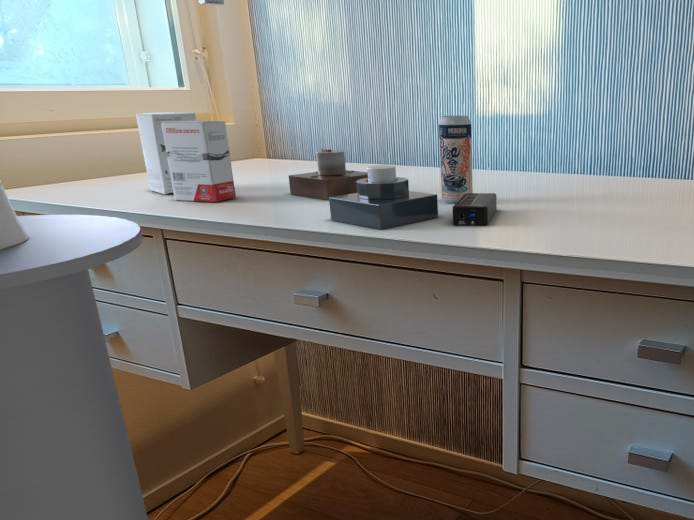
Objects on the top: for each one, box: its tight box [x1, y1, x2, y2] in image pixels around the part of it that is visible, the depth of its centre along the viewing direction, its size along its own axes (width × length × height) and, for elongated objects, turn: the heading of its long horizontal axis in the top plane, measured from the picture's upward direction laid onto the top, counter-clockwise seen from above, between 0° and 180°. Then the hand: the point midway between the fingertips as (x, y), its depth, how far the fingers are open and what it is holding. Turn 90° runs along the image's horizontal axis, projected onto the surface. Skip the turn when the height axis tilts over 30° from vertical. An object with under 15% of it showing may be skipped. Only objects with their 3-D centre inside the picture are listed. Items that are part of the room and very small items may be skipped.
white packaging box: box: [135, 111, 197, 195], centre depth 116 cm, size 7×7×13 cm
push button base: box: [328, 176, 439, 230], centre depth 89 cm, size 10×10×5 cm
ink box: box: [161, 120, 237, 203], centre depth 106 cm, size 8×5×12 cm, turn 68°
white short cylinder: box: [366, 164, 397, 182], centre depth 88 cm, size 4×4×2 cm
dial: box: [315, 148, 347, 176], centre depth 110 cm, size 4×4×4 cm
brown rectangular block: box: [288, 169, 368, 201], centre depth 112 cm, size 10×10×3 cm
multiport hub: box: [451, 192, 498, 227], centre depth 90 cm, size 4×11×2 cm, turn 173°
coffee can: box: [438, 115, 474, 204], centre depth 100 cm, size 5×5×12 cm
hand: (211, 4), depth 95 cm, fingers closed
